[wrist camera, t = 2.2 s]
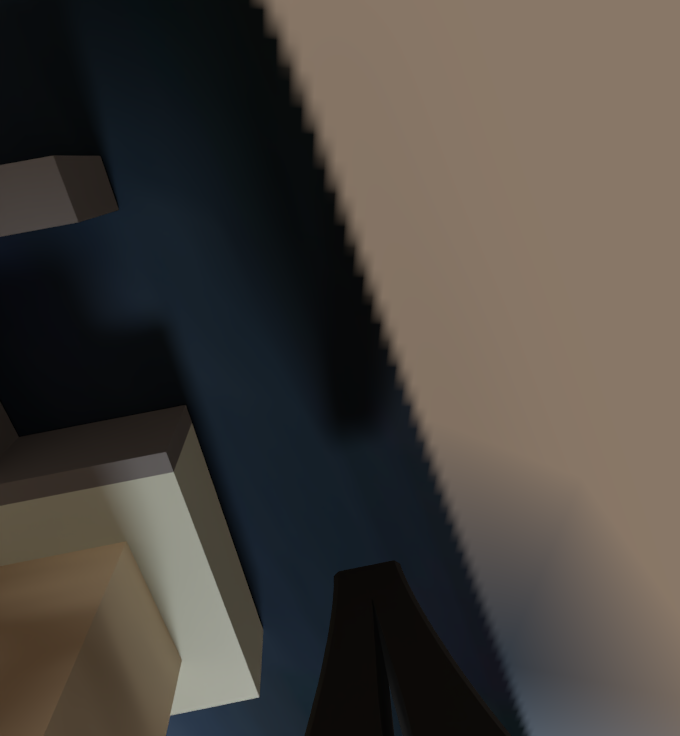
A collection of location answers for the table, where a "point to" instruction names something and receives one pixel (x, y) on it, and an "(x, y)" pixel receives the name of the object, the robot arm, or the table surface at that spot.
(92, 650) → the birch block
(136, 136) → the table surface
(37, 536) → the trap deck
